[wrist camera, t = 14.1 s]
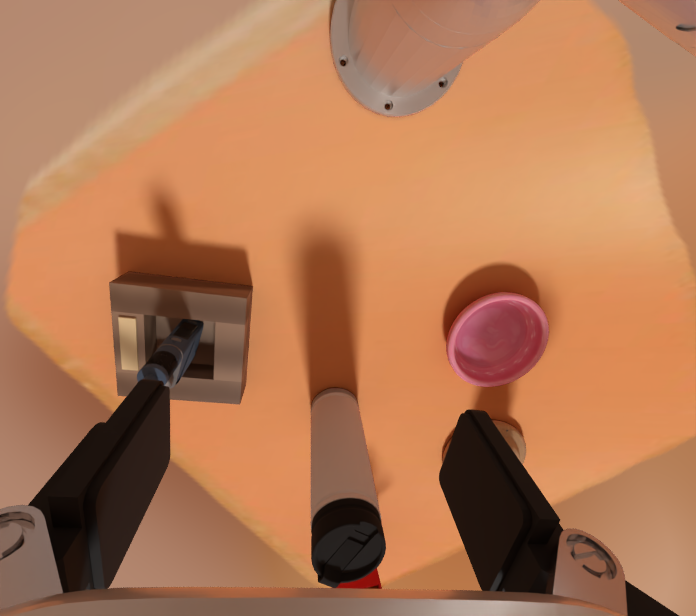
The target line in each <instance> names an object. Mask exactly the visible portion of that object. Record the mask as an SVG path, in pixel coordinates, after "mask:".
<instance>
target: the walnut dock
mask: <svg viewBox="0 0 696 616" xmlns="http://www.w3.org/2000/svg"><path fill="white" fill-rule="evenodd" d="M109 286H110V300H111V313H112V326H113V339H114V352H115V365H116V378H117V391H118V396H128V394H129V393H130V392H131V391H132V389H133V388H134V387H135V386H136V384H137V383H138V381H137V374H138V372H139V370H140V369H141V368H142V367H143V366H144V365H145V364H146V362H147V361H148V360H150V358H151V356H152V355H153V354H154V353H155V352H156V350H157V348H158V347H159V346H160V345H161V344H162V343H163V341H164V340H165V339H166V338H167V337H168V336H169V334H170V333H171V332H172V331H173V330H174V329H175V327H176V326H177V325H178V324H179V323H180V322H181V321H182V319H191V320H200V321H201V322H203V324H204V326H203V330H202V334H201V337H200V341H199V345H198V348H197V351H196V352H195V357H194V358H193V360H192V361H191V363H190V365H189V366H188V368H187V369H186V371H185V373H184V374H183V376H182V377H181V379H180V381H179V382H178V383H177V384H176V385H175V386H174V387H173V388H171V389H170V399H172V400H186V401H200V402H214V403H228V404H240V403H241V399H242V396H243V393H244V390H245V386H246V377H247V362H248V348H249V334H250V319H251V305H252V291H253V286H245V285H236V284H228V283H220V282H211V281H203V280H195V279H186V278H178V277H170V276H161V275H153V274H144V273H136V272H127V273H126V274H124V275H122V276H120V277H118V278H117V279H115V280H113V281H111V282H109Z"/></svg>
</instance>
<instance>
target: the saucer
mask: <svg viewBox="0 0 696 616" xmlns="http://www.w3.org/2000/svg"><path fill="white" fill-rule="evenodd" d="M548 336H549V327H548V321H547V318H546V315H545V313H544V312H543V310H542V309H541V308H540V306H539V305H538V304H536V303H535V302H534V301H533V300H531V299H529V298H527V297H525V296H523V295H520V294H517V293H511V292H499V293H493V294H489V295H486V296H484V297H481V298H479V299H477V300H476V301H474V302H472V303H471V304H470V305H468V306H467V307H466V308H465V309H464V310H463V311H462V312H461V313H460V314H459V315H458V316H457V318H456V319H455V321H454V322H453V324H452V326H451V328H450V331H449V333H448V337H447V344H446V351H447V356H448V360H449V362H450V364H451V366H452V368H453V369H454V371H455V372H456V373H457V374H458V375H459V376H460V377H461V378H462V379H463V380H465V381H467V382H468V383H471V384H473V385H477V386H483V387H494V386H500V385H504V384H507V383H510V382H513V381H515V380H517V379H519V378H520V377H522V376H523V375H525V374H526V373H527V372H529V371H530V370H531V369H532V368H533V367H534V366H535V365H536V363H537V362H538V361H539V359H540V358H541V356H542V354H543V352H544V350H545V348H546V345H547V341H548Z"/></svg>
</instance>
